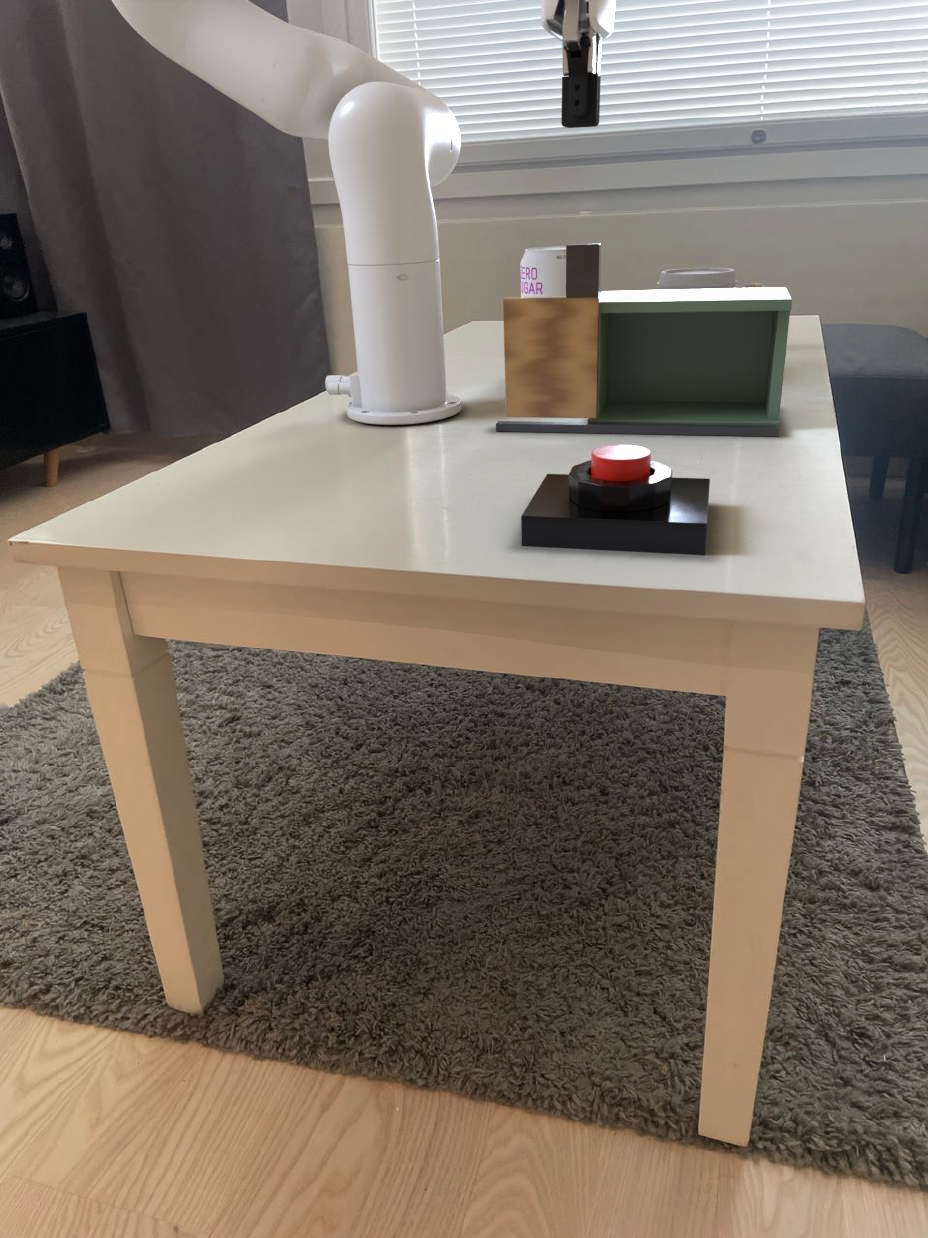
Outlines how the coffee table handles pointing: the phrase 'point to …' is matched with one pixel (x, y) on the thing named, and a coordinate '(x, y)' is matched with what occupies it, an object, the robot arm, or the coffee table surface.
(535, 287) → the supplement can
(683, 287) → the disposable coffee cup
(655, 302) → the cabinet
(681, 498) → the button box
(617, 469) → the button
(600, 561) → the coffee table surface
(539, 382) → the sliding door
